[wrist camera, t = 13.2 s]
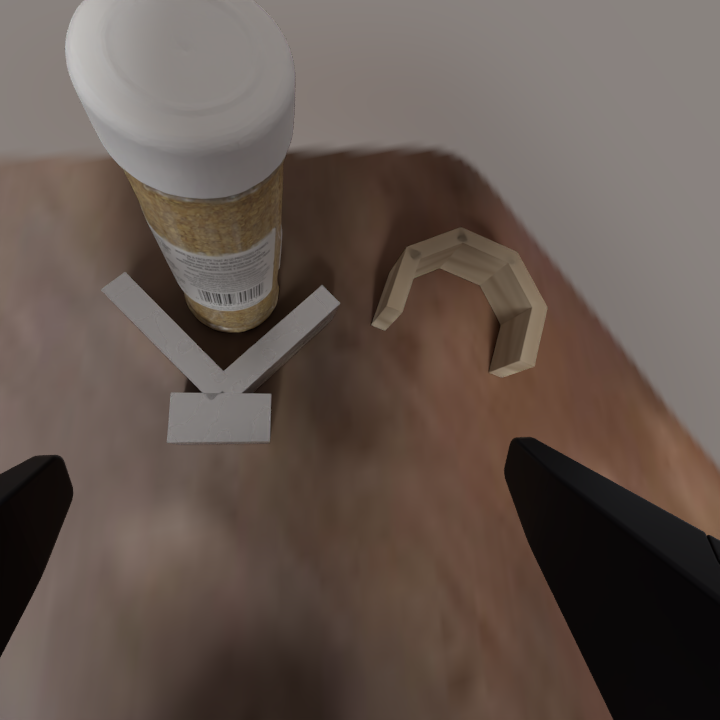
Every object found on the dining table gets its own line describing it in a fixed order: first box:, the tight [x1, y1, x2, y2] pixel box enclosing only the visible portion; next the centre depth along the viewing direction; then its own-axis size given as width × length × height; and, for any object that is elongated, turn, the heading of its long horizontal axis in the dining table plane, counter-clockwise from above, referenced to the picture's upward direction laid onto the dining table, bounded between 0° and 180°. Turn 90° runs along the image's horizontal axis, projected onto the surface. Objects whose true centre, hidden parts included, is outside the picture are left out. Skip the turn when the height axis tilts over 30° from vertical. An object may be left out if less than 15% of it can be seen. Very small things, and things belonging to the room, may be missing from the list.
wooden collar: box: [371, 227, 548, 378], centre depth 22 cm, size 6×8×3 cm
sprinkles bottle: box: [65, 0, 295, 333], centre depth 15 cm, size 5×5×14 cm
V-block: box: [101, 272, 340, 445], centre depth 19 cm, size 7×10×2 cm
